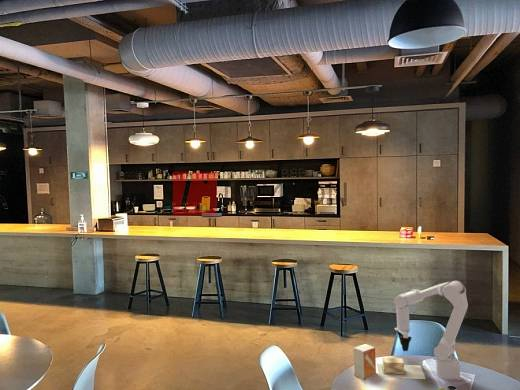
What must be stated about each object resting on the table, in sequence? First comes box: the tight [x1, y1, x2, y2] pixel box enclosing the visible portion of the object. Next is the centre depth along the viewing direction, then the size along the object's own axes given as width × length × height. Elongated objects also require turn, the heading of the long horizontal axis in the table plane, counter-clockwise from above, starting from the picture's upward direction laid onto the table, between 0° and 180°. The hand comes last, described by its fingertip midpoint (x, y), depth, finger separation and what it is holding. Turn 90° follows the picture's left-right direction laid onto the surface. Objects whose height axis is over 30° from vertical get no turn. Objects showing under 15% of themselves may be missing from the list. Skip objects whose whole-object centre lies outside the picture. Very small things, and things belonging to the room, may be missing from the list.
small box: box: [353, 343, 377, 380], centre depth 197 cm, size 8×6×13 cm
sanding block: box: [382, 357, 405, 374], centre depth 198 cm, size 9×5×5 cm, turn 79°
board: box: [376, 363, 427, 380], centre depth 197 cm, size 20×14×1 cm
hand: (404, 347), depth 203 cm, fingers open, 7 cm apart
